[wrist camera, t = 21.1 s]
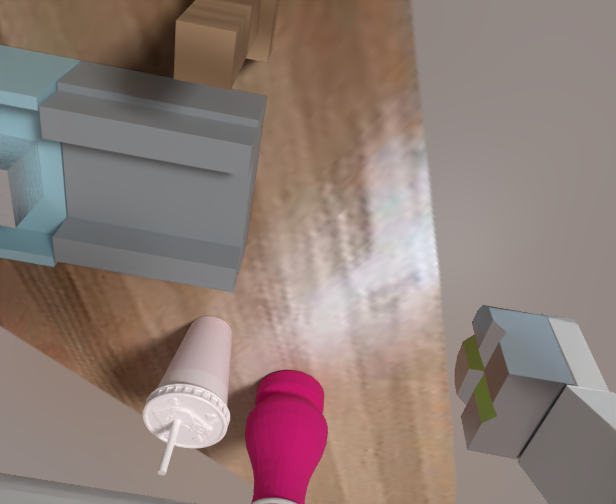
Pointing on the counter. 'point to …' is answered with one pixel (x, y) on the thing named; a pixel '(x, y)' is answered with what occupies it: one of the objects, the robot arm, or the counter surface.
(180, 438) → the smoothie
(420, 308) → the counter surface
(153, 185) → the groove board
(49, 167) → the tray
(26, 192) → the grey cube
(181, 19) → the brown bar
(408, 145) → the counter surface
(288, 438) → the pepper mill
